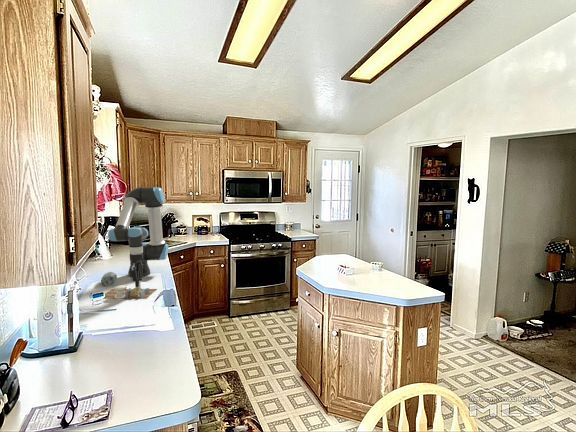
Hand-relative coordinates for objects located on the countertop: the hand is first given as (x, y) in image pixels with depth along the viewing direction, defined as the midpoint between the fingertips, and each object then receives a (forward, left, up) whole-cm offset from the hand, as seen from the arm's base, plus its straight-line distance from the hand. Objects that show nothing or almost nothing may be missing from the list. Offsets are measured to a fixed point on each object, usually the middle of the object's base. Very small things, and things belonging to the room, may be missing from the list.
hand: (138, 291), depth 213 cm
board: (-1, -7, -3) cm, 7 cm away
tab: (+3, 0, -2) cm, 4 cm away
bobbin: (+5, -9, -2) cm, 10 cm away
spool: (-22, -29, -3) cm, 36 cm away
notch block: (+3, 0, -2) cm, 3 cm away
